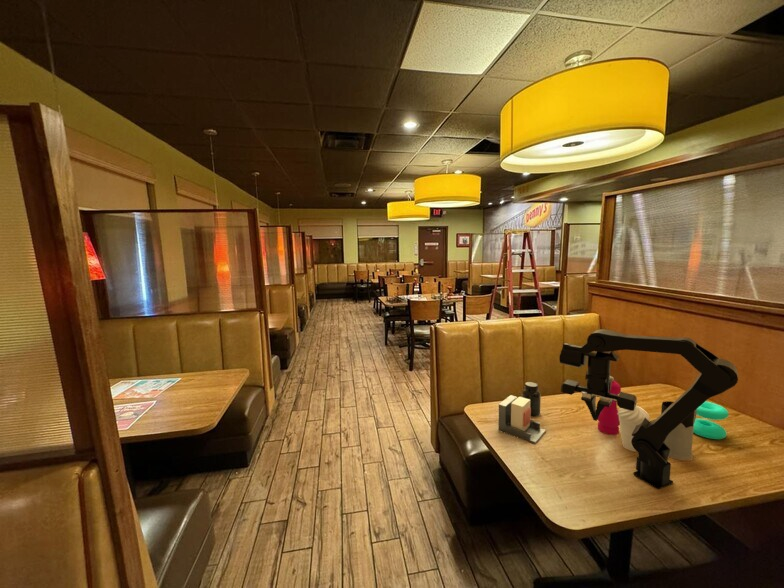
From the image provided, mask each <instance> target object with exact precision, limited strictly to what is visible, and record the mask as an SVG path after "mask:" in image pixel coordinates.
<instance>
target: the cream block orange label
mask: <svg viewBox="0 0 784 588" xmlns="http://www.w3.org/2000/svg"><path fill="white" fill-rule="evenodd" d="M531 418H532V417H531V408H530V399H526V398H523V397H522V396H517V399H516V400H515V401H513V402H512V403H511V426H512V427H515V428H518V429H520V430H523V431H525V430H526V429H527V428H528V427H529V426H530V421H531V420H532V419H531Z"/></svg>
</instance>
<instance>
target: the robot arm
mask: <svg viewBox="0 0 784 588" xmlns="http://www.w3.org/2000/svg"><path fill="white" fill-rule="evenodd" d="M561 348H562V349H560V350H561V351H560V354H559V357H558V358H559V363H560V364H562V365H565V366H571V367H574V368H580V369H581V368H582V367H583V366H586V365H587V370H586V373H585V377H584V378H585V381H586V386H582V385H580V381H576V380H573V379H572V380H571V379H565V381H563V382H562V383H561V385H560V392H561V393H563V394H565V395H570V396H571V395H573V394H575V392H577V393H581V398H580V400H581V401H584V403H585V404H586V406H587V408H588V410H589V412H590V415H591V417H592V420H593V421H595V422H596V421H597V422H598V420H597V419H598V417H599V415H600V413H601V411H602V410H603V408H604V407H609V406H610V405H611V403H612V401H616V402H617V407H619V409H621V408H623V409H627V410H631V411H634V409H635V406H636V405H637V403H638V401H637V396H636V394H635V395H634V394H631V393H627V392H623V391H621V392H620V393H619V394H618V395H615V394H612V393H609V391H610V390H611V383H612V379H610V376H611V363H612V362H618V360H619V359H620V356H619V355H617V353H616V352H617V351H625V350H626V351H636V352H638V351H639V352H651V353H661V354H662V353H663V354H674V355H680V356H681V357H682V358H684V359H685V360H686V361H687V362H688V363H689V364H690V365H691V366H692V367H693V368H694V369H695V370H696V371H698V372H699V373H698V374H697V376H696V378H695V380H694V381H693V383H692V384H691V385H690V386H689V387H688V388H687V389H686V390H685V391H683V393H682V394H681V395H679V397H678V398H677V399H676V400H674V401H672V402H673V403H672V404H671V405H670V406H669V407H668V408H667V409H666V410H665V411H664V412H663V413H662V414H661V413H660V414H659V416H658V417H656V418H655V419H653V420H650V421H648V420H647V419H646V418H644V420H643V421H642V423H641V424H639V425H636V427H635V429H634V431H633V433H632V436H633V438H632V440H631V443H632V446H633V447H634V449H635V450H636V451H637V452H636V453H637V454H638V456H636V464H635V467H636V468H635V470H636V471H634V472H632V473H633V475H634V476H636V477H637V478H639V479H640V480H642V481H644V482H645V483H647V484H648V485H650V486H651V487H653V488H655V489H657V490H661V489H663V488H665V487H668V486H671V485H673V484H674V481H673V480H671V470H672V469H671V468H672V463H670V462H669V461H668V460H669V458H670V457H669V454H670V448H669V447H668V446H667V445H666V444H665V443H664V441H665V439H666V438H667V436H668V434H669V433H670V432H671V431H672V430H674V429H675V428H676V427H677V426H678V425H679V424H680V423H681V422H683V421H684V420H685V419H686V418H687V417H688V416H689V415H690V414H692V413H693V412H694V411H695V410H696V409H697V408H698V407H699V406H701V405H702V404H703V403H704V402H705V401H708V399H711V398H713V397H716V396H718V395H721V394H723V393H725V392H727V391H728V390H730V389H731V388H733V387H735V386H736V385H737V384H738V382H739V376H738V374H739V373H738V370H737V367H736V365H735V364H734V363H732V362H731V361H729V360H727V359H724V358H720V357H718V356H717V355H715V354H714V353H713V352H711V351H710V350H708V349H706V348H705V347H703V346H701V345H700V344H699V343H697V342H696V341H695V340H694V339H692V338H690V337H686V336H684V337H683V336H682V337H672V336H671V337H670V336H652V335H651V336H650V335H638V334H637V335H635V334H633V335H632V334H624V333H622V332H618V331H614V330H610V329H609V330H608V329H597V330H595V331H593V332H592V333H590V334H589V335H588V337H587V340H586V343H584V344H583V345H575V344H571V343H568V342H565V343H562V347H561ZM597 398H599V399H598V401H597V400H596V399H597ZM596 401H597V402H596ZM596 403H597V404H596Z"/></svg>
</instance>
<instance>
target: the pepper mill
mask: <svg viewBox="0 0 784 588" xmlns="http://www.w3.org/2000/svg"><path fill="white" fill-rule="evenodd" d="M610 379H612V383H611V390H610V391H609V393H612V394H615V395H619V394H620V392H622V387H621V385H620V384H619V383H618V382H617V381H616V380H615V378H614V377H613V376H611V375H610ZM618 410H619V409H618V405H617V402H616V401H612V403H611V405H610V406H609V407H604V408H603V410H602V411H601V413H600V415H599V417H598V419H597V422H598V423H597V429H598V430H599V431H600V432H601V433H603V434H607V435H610V436H616V435H619V432H620V430H619V428H620V421H619V415H618V414H617V413H618V412H619V411H618Z"/></svg>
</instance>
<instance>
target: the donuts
mask: <svg viewBox="0 0 784 588" xmlns="http://www.w3.org/2000/svg"><path fill="white" fill-rule="evenodd" d="M696 416H698V417H700V418H697V417H696V419H695V422H694V430H693V434H696V435H698V436H699V437H702V438H706V439H711V440H712V439H713V440H723V439H725V438H726V437H727V434H728V433H727V431H726V429H725V428H724V427H723V426H721V424H718V423H716V422H715V421H721V420H725V419H727V418H728V417H729V411H728V410H727V408H725V407H723V406H722V405H720V404H717V403H714V402H710V401H708V400H706V401H705V402H704V403H703V404H702V405H701V406H699V407H698V408H697V413H696ZM711 420H714V421H711Z"/></svg>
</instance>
